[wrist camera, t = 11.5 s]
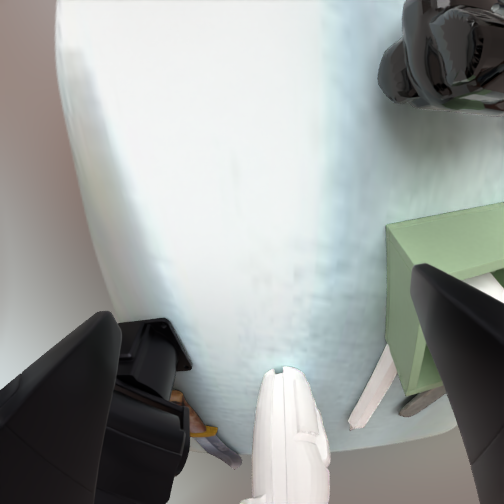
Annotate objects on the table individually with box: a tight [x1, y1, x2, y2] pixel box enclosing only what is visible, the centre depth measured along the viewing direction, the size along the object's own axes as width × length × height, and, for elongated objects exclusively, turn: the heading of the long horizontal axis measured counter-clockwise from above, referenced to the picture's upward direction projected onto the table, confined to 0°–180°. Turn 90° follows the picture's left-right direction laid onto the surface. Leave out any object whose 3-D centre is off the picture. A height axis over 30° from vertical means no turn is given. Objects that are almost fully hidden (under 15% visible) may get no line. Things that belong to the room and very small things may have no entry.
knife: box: [170, 390, 242, 470], centre depth 36 cm, size 25×1×5 cm
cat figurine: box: [377, 0, 504, 116], centre depth 11 cm, size 10×14×18 cm
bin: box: [385, 202, 504, 397], centre depth 21 cm, size 12×12×7 cm
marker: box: [348, 344, 398, 431], centre depth 30 cm, size 3×2×16 cm
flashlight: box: [240, 367, 331, 504], centre depth 22 cm, size 7×18×7 cm
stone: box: [399, 385, 446, 417], centre depth 31 cm, size 12×2×5 cm
